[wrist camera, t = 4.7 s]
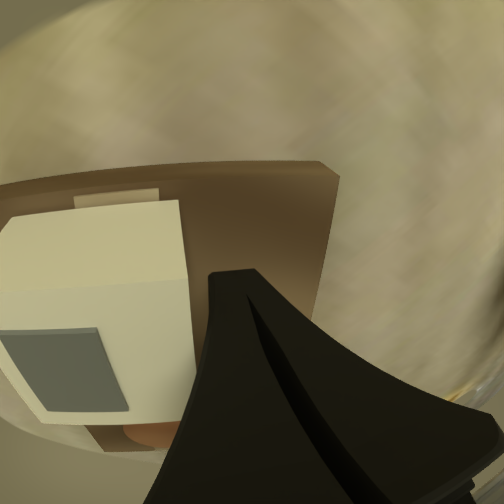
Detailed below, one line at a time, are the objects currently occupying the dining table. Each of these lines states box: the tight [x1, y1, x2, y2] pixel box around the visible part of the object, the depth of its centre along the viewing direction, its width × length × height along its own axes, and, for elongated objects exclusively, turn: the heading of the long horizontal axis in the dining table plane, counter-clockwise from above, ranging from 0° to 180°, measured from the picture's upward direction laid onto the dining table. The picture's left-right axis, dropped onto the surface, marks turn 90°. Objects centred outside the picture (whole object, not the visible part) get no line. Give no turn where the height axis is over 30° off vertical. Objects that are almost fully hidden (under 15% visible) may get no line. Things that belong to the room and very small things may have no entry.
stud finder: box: [0, 200, 196, 425], centre depth 8 cm, size 5×5×4 cm
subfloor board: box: [0, 161, 340, 452], centre depth 13 cm, size 16×11×2 cm
